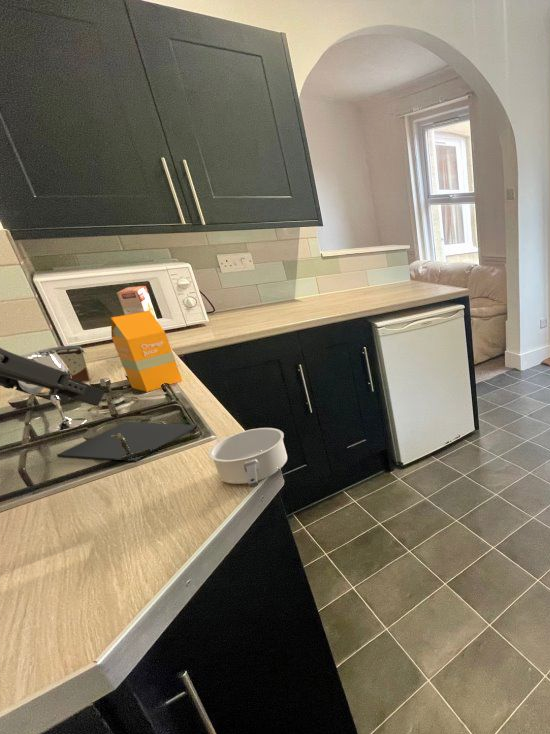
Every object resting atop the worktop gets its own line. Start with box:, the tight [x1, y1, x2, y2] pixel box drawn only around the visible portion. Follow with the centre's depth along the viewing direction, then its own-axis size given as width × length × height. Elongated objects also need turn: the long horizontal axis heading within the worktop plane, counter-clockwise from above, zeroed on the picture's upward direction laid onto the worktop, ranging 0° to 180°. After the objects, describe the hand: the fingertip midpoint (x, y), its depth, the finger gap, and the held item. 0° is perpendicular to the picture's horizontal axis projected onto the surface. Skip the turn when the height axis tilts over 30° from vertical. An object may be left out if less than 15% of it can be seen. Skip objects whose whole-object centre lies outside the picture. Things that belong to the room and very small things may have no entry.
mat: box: [56, 421, 198, 462], centre depth 87 cm, size 18×14×1 cm
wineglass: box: [16, 351, 87, 433], centre depth 66 cm, size 6×6×12 cm
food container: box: [27, 345, 92, 383], centre depth 118 cm, size 12×6×10 cm, turn 130°
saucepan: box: [208, 427, 288, 488], centre depth 71 cm, size 12×20×6 cm, turn 33°
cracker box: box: [116, 285, 159, 323], centre depth 149 cm, size 14×6×21 cm, turn 30°
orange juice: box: [110, 310, 183, 393], centre depth 113 cm, size 8×9×20 cm
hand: (83, 397), depth 71 cm, fingers closed on wineglass, 6 cm apart
